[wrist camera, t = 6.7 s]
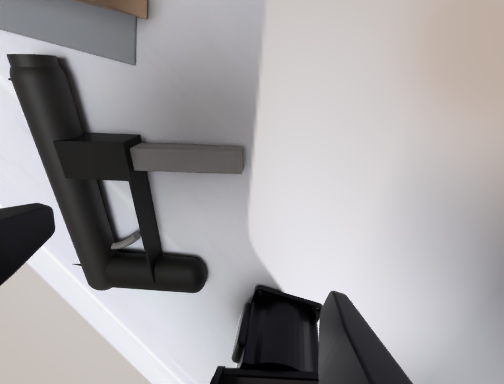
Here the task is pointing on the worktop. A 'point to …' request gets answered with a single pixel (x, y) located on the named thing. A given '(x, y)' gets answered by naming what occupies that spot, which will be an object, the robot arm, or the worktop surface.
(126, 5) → the walnut block
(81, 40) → the mat
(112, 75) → the worktop surface
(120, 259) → the door handle
